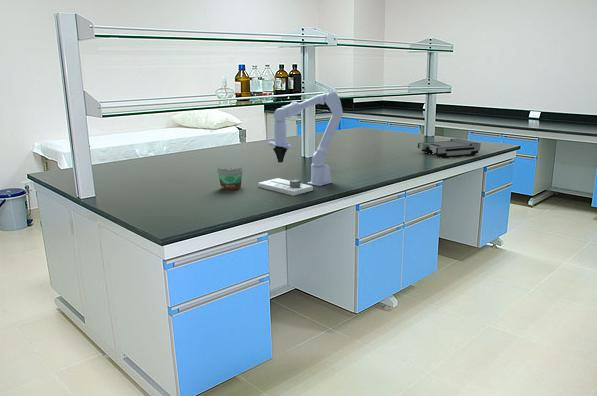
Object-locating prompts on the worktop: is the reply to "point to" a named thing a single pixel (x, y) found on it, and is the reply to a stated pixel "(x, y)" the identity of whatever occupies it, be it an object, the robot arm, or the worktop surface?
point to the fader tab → (295, 183)
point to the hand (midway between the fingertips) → (280, 162)
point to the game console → (451, 148)
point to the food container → (230, 178)
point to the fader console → (284, 187)
